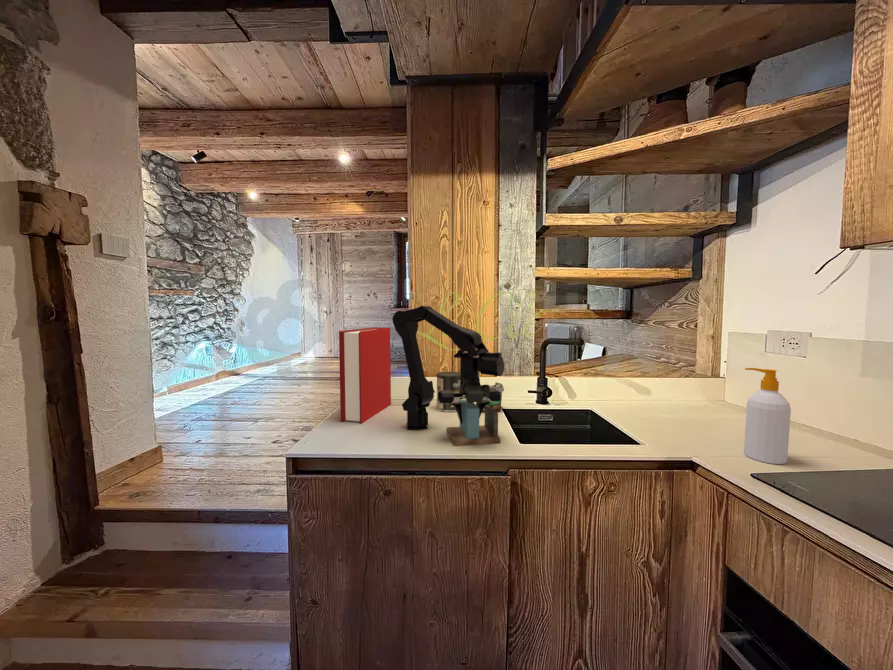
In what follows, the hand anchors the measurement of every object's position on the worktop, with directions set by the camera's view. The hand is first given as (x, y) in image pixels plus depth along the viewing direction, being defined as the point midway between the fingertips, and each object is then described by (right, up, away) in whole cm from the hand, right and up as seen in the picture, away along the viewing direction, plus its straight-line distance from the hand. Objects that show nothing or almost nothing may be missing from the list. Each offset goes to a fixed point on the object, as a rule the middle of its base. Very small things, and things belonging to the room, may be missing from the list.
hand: (469, 423), depth 109 cm
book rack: (+1, -5, 0) cm, 5 cm away
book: (-37, -3, +27) cm, 46 cm away
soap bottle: (+78, -6, -14) cm, 79 cm away
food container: (+12, -3, +30) cm, 32 cm away
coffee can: (-6, -3, +33) cm, 33 cm away
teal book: (0, -3, 0) cm, 3 cm away
